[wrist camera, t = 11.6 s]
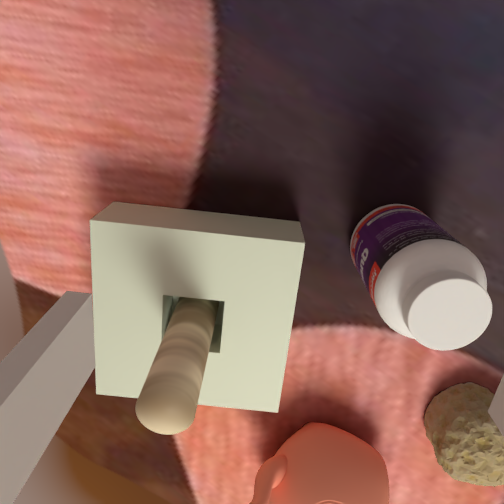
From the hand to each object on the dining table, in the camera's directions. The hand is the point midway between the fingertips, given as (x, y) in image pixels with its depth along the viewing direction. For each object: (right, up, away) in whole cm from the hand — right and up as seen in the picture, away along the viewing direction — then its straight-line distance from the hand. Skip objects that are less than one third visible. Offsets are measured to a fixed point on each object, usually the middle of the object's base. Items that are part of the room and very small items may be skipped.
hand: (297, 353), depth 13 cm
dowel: (-7, -2, +30) cm, 31 cm away
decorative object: (+23, -16, +36) cm, 45 cm away
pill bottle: (+12, +4, +28) cm, 31 cm away
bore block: (-7, -1, +31) cm, 32 cm away
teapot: (+6, -21, +39) cm, 45 cm away
